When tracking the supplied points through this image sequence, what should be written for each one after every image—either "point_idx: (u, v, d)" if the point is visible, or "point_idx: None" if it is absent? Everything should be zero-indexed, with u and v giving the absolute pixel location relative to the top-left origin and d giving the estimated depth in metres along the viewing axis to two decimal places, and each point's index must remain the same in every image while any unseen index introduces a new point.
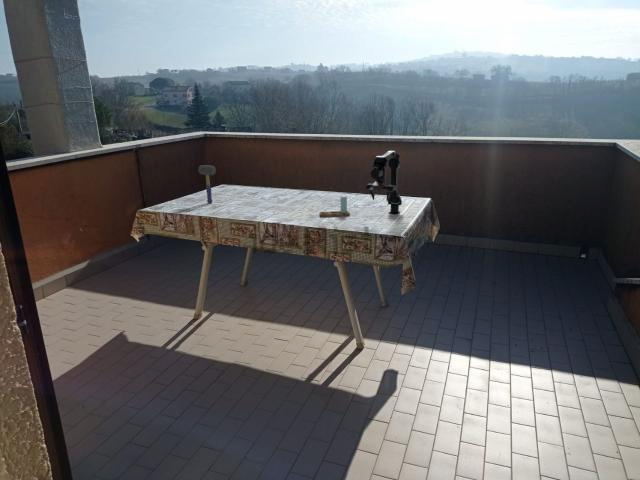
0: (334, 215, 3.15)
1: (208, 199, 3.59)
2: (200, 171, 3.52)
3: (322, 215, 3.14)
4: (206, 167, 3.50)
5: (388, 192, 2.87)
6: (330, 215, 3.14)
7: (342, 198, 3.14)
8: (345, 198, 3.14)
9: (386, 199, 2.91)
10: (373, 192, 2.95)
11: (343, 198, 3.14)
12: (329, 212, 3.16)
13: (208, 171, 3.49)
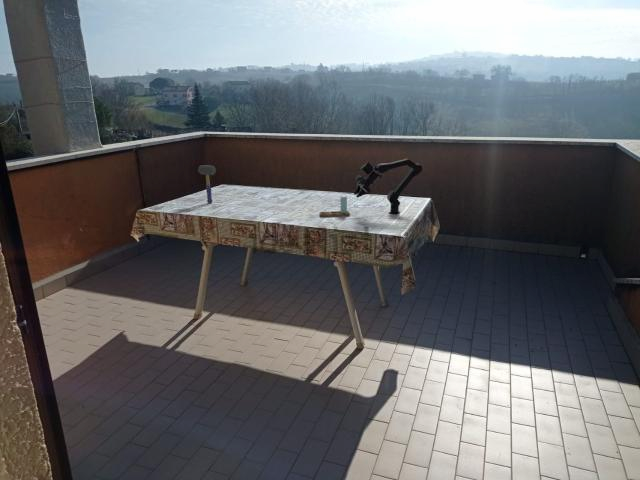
0: (334, 215, 3.15)
1: (208, 199, 3.59)
2: (200, 171, 3.52)
3: (322, 215, 3.14)
4: (206, 167, 3.50)
5: (361, 188, 3.07)
6: (330, 215, 3.14)
7: (342, 198, 3.14)
8: (345, 198, 3.14)
9: (357, 195, 3.10)
10: (359, 189, 3.19)
11: (343, 198, 3.14)
12: (330, 212, 3.16)
13: (208, 171, 3.49)
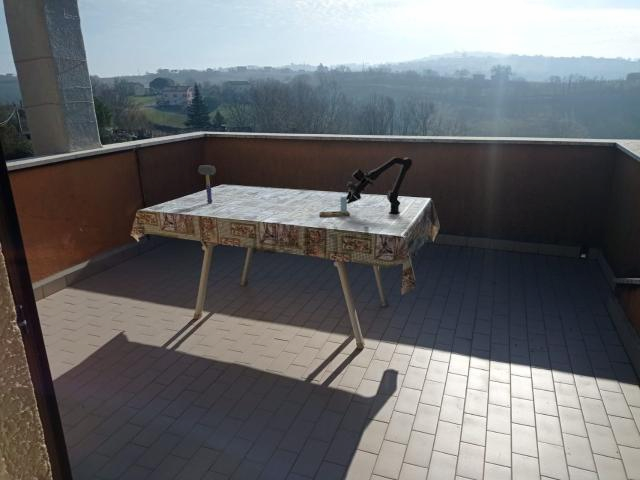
0: (334, 215, 3.15)
1: (208, 199, 3.59)
2: (200, 171, 3.52)
3: (322, 215, 3.14)
4: (206, 167, 3.50)
5: (351, 195, 3.09)
6: (330, 215, 3.14)
7: (342, 198, 3.14)
8: (345, 198, 3.14)
9: None
10: (350, 195, 3.20)
11: (343, 198, 3.14)
12: (330, 212, 3.16)
13: (208, 171, 3.49)
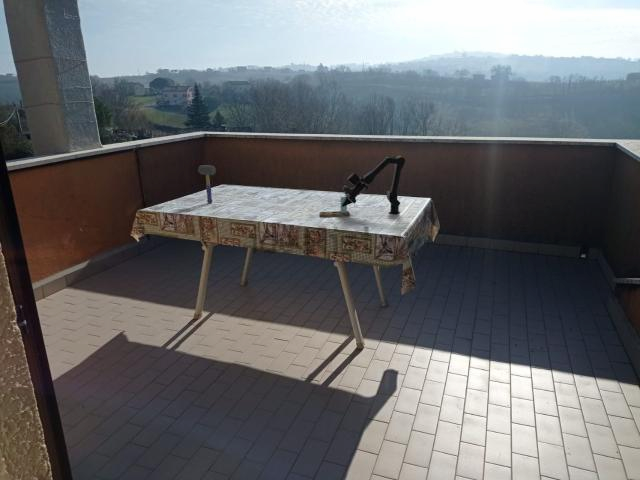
0: (334, 215, 3.15)
1: (208, 199, 3.59)
2: (200, 171, 3.52)
3: (322, 215, 3.14)
4: (206, 167, 3.50)
5: (346, 198, 3.12)
6: (330, 215, 3.14)
7: (342, 198, 3.14)
8: (345, 198, 3.14)
9: (342, 204, 3.15)
10: None
11: (343, 198, 3.14)
12: (331, 212, 3.16)
13: (208, 171, 3.49)
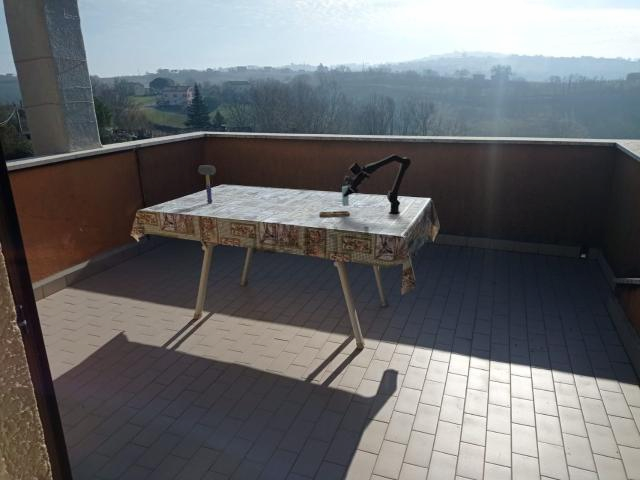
0: (334, 215, 3.15)
1: (208, 199, 3.59)
2: (200, 171, 3.52)
3: (322, 215, 3.14)
4: (206, 167, 3.50)
5: None
6: (330, 215, 3.14)
7: (344, 188, 3.13)
8: (347, 188, 3.13)
9: (344, 194, 3.14)
10: None
11: (345, 188, 3.13)
12: (332, 212, 3.16)
13: (208, 171, 3.49)
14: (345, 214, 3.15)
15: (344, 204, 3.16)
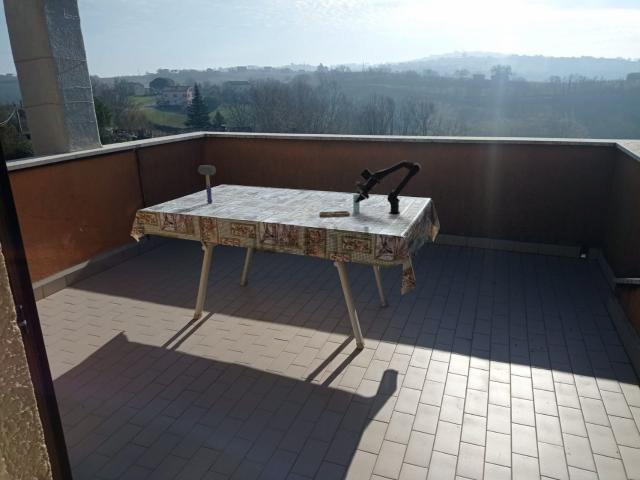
0: (334, 215, 3.15)
1: (208, 199, 3.59)
2: (200, 171, 3.52)
3: (322, 215, 3.14)
4: (206, 167, 3.50)
5: (359, 194, 3.16)
6: (330, 215, 3.14)
7: (355, 196, 3.20)
8: (358, 196, 3.21)
9: None
10: None
11: (356, 196, 3.20)
12: (333, 212, 3.16)
13: (208, 171, 3.49)
14: (345, 214, 3.15)
15: (355, 211, 3.24)
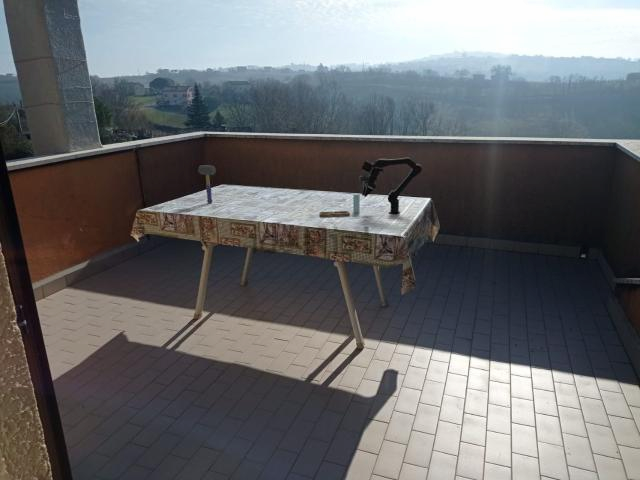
0: (334, 215, 3.15)
1: (208, 199, 3.59)
2: (200, 171, 3.52)
3: (322, 215, 3.14)
4: (206, 167, 3.50)
5: (366, 187, 3.11)
6: (330, 215, 3.14)
7: (355, 196, 3.20)
8: (358, 196, 3.21)
9: (364, 194, 3.13)
10: (365, 189, 3.22)
11: (356, 196, 3.20)
12: (334, 212, 3.16)
13: (208, 171, 3.49)
14: (345, 214, 3.15)
15: (355, 211, 3.24)
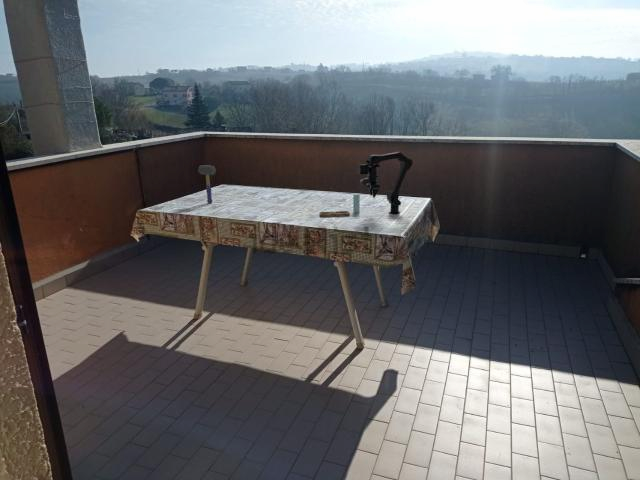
0: (334, 215, 3.15)
1: (208, 199, 3.59)
2: (200, 171, 3.52)
3: (322, 215, 3.14)
4: (206, 167, 3.50)
5: (371, 189, 3.05)
6: (330, 215, 3.14)
7: (355, 196, 3.20)
8: (358, 196, 3.21)
9: None
10: None
11: (356, 196, 3.20)
12: (334, 212, 3.16)
13: (208, 171, 3.49)
14: (345, 214, 3.15)
15: (355, 211, 3.24)
